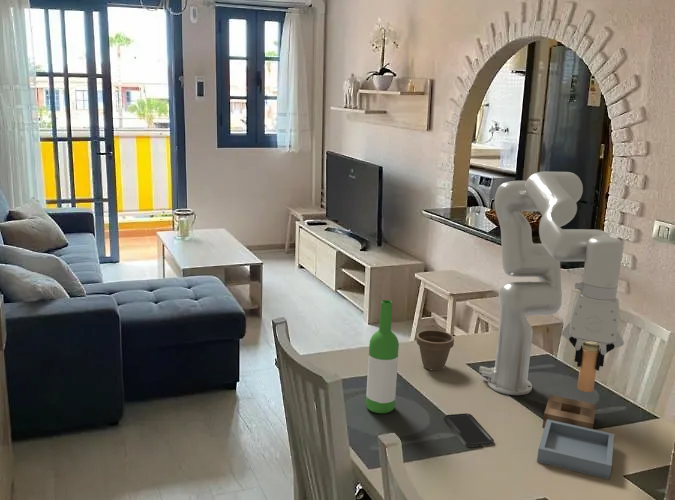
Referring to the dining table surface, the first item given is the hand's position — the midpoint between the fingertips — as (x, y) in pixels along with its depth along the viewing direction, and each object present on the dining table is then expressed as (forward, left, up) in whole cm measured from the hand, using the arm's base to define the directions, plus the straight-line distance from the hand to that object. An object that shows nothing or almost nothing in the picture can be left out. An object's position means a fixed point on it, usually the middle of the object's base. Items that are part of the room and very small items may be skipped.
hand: (588, 366), depth 160 cm
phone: (-26, -1, -24) cm, 35 cm away
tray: (0, 0, -23) cm, 23 cm away
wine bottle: (-50, 0, -23) cm, 55 cm away
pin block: (-3, +16, -23) cm, 28 cm away
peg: (0, 0, -6) cm, 6 cm away
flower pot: (-45, +34, -23) cm, 61 cm away
